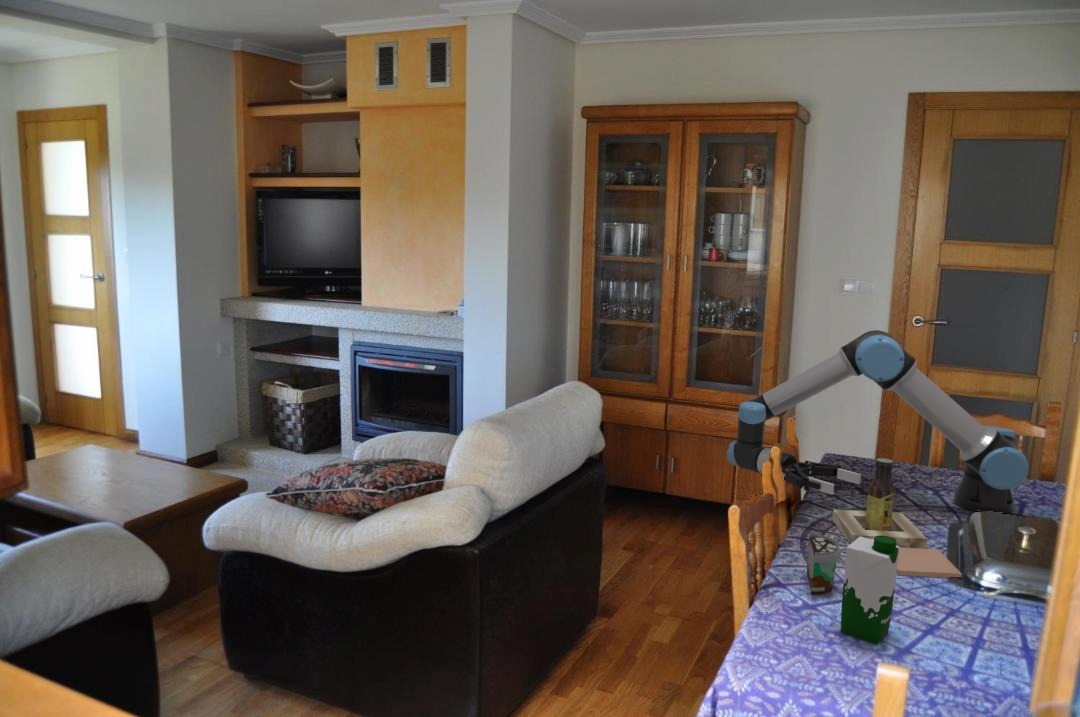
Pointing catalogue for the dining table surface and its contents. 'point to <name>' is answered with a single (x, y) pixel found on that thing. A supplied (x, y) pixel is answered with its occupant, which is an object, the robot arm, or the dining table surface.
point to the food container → (821, 563)
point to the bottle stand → (900, 526)
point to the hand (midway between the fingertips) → (847, 484)
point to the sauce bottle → (880, 498)
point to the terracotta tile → (925, 563)
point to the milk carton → (869, 587)
